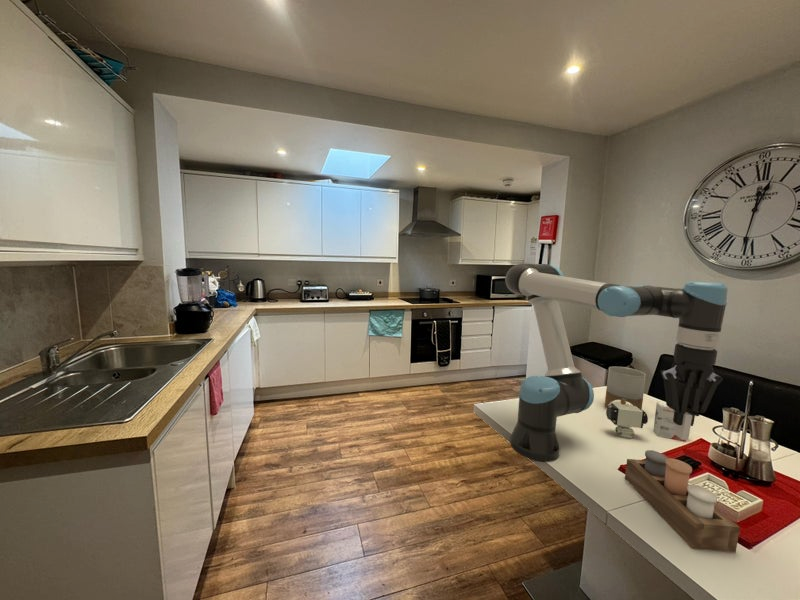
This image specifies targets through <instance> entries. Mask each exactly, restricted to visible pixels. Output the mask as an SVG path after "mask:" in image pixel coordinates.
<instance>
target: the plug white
mask: <svg viewBox="0 0 800 600" xmlns="http://www.w3.org/2000/svg"><path fill="white" fill-rule="evenodd" d="M687 492H688V498H687V505H686V508H687V509H688V510H690V511H691V512H692V513H693V514H694V515H695V516H696V517H697V518H709V519H712V518H713V511H714V506H715V504H717V503H718V496H717V494H715V493H714V492H713V491H712V490H710V489H708V488H706V487H703V486H701V485H697V484H688V486H687Z"/></svg>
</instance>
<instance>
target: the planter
mask: <svg viewBox="0 0 800 600" xmlns="http://www.w3.org/2000/svg"><path fill="white" fill-rule="evenodd" d="M646 377H647V374H646V373H645V372H643V371H641V370H638V369H635V368H631V367H625V366H609V367H608V373H607V381H606V391H605V397H604V399H605V400H604V408H606V409H607V408H608V407H609V406H610V405H611V403H612V402H614V401H620V402H619V404H622V405H624V404H627V403H630V404H631V406H638V407H639V408H640V409H642V410H643V402H644V392H645V386H646V385H645V384H646Z"/></svg>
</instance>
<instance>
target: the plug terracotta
mask: <svg viewBox="0 0 800 600" xmlns="http://www.w3.org/2000/svg"><path fill="white" fill-rule="evenodd" d="M665 464H666V472H665V480H664V488H666V489H667V490H668V491H669V492H670V493H671V494H672V495H681V496H687V486H688V485H689V481H690V475H692V472H693V467H692V466H691V465H690V464H688V463H687V462H685V461H682V460H680V459H676V458H671V457H668V459H666V461H665Z"/></svg>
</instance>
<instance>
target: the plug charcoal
mask: <svg viewBox="0 0 800 600" xmlns="http://www.w3.org/2000/svg"><path fill="white" fill-rule="evenodd" d="M644 456H645V460H646V461H645V470H646V471H647V472H648V473H649V474H650V475H651V476H660V477H665V472H666V464H665V461H666V459H668V458H669V457H668V456H667V455H665V454H664V453H661V452H660V451H655V450H650V449H649V450H648V449H647V450H645V452H644Z"/></svg>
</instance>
